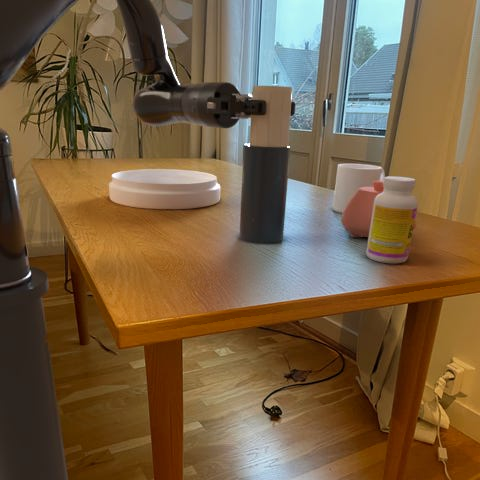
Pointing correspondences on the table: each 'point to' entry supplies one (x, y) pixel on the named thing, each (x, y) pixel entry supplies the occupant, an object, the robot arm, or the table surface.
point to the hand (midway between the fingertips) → (279, 108)
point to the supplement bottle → (392, 221)
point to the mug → (353, 182)
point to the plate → (164, 189)
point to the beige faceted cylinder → (271, 117)
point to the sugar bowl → (362, 210)
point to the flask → (263, 193)
